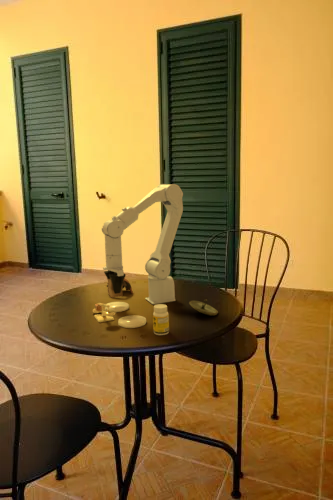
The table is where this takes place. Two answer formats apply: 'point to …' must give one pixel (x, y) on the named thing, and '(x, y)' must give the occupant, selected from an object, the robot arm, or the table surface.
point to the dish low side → (117, 306)
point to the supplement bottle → (160, 320)
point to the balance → (103, 313)
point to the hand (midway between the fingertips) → (115, 291)
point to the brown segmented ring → (126, 285)
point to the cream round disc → (132, 321)
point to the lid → (203, 307)
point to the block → (111, 291)
